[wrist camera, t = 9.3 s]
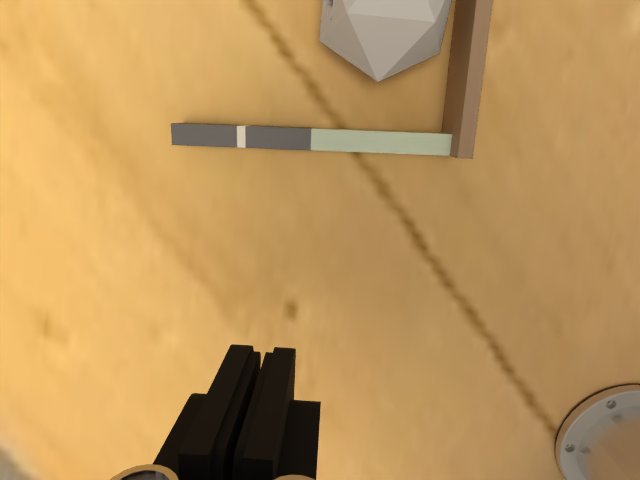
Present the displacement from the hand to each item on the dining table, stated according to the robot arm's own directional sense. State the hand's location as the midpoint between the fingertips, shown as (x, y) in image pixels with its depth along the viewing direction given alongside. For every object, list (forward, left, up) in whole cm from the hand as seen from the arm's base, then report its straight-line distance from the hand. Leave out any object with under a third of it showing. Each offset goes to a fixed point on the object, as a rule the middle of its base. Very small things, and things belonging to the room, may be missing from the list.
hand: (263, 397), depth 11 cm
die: (-5, -14, -26) cm, 30 cm away
